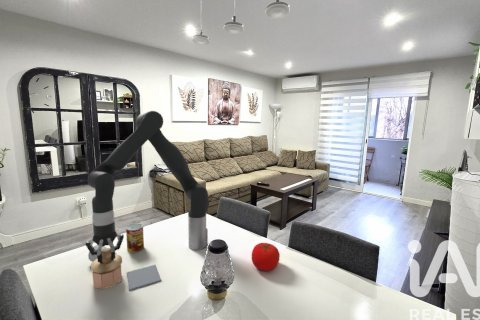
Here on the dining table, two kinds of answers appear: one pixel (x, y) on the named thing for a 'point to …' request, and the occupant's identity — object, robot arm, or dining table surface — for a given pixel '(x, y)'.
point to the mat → (143, 277)
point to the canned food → (135, 237)
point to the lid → (106, 262)
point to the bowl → (107, 278)
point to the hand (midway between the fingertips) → (106, 260)
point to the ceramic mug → (94, 257)
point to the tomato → (265, 256)
